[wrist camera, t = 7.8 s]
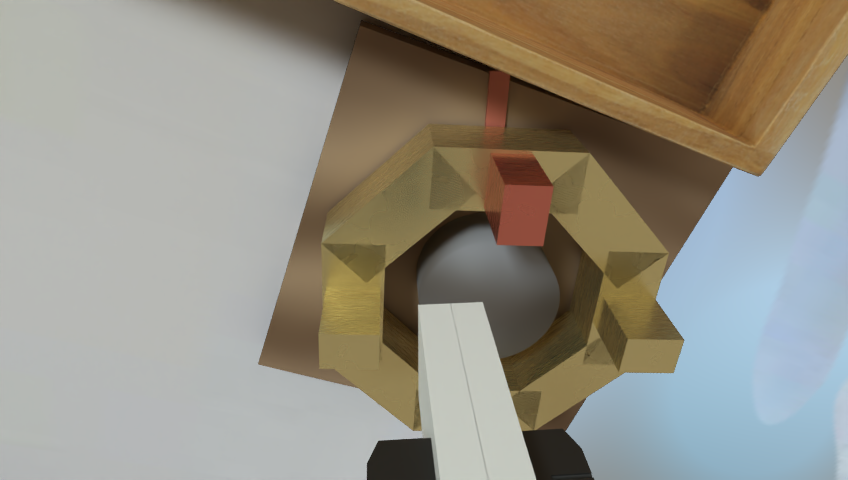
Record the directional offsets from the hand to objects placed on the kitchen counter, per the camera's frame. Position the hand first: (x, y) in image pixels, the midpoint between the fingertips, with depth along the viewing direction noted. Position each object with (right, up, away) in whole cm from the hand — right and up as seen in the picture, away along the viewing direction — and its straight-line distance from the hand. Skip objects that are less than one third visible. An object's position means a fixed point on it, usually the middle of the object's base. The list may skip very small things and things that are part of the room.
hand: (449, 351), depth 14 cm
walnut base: (+2, +2, +15) cm, 15 cm away
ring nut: (+2, +1, +13) cm, 13 cm away
